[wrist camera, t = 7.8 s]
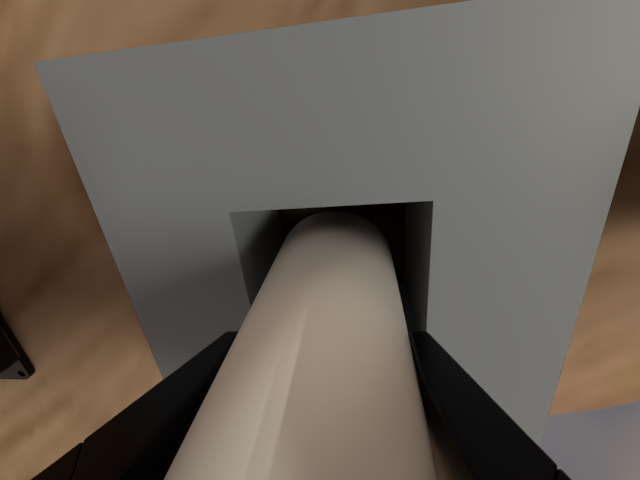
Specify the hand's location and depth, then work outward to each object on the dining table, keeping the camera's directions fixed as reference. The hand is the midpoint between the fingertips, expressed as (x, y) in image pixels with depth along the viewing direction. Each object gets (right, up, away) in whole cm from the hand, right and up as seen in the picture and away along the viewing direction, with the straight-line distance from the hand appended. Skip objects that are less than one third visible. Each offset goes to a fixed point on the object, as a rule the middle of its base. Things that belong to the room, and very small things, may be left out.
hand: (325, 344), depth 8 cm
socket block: (+1, +3, +6) cm, 7 cm away
